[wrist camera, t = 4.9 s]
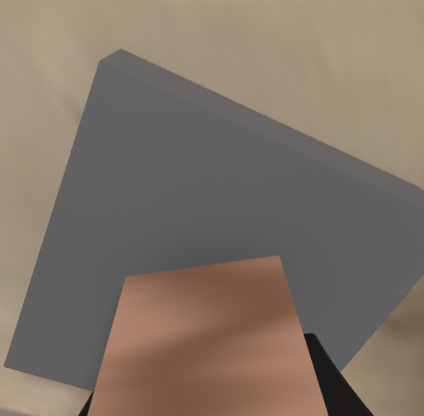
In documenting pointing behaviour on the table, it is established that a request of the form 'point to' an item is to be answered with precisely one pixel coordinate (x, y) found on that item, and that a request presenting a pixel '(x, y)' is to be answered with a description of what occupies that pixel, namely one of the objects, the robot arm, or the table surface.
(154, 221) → the charcoal plinth
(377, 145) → the table surface
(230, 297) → the terracotta cube
